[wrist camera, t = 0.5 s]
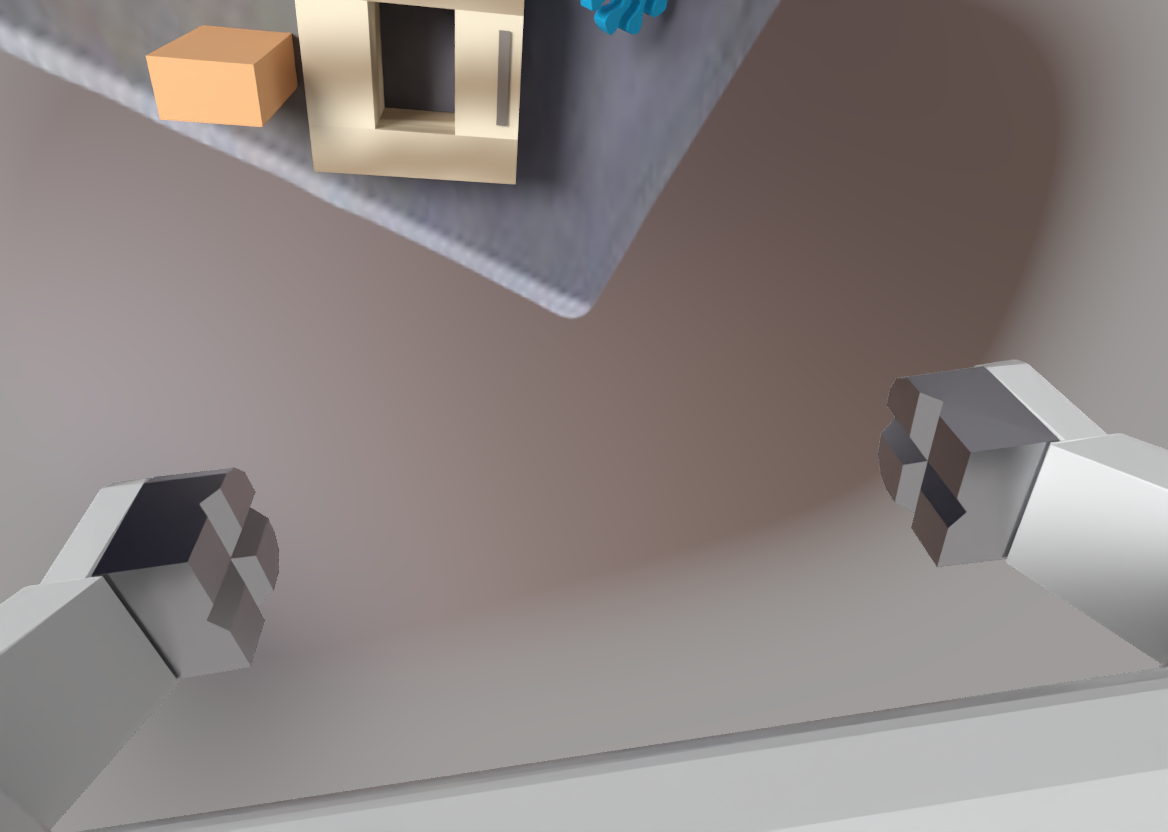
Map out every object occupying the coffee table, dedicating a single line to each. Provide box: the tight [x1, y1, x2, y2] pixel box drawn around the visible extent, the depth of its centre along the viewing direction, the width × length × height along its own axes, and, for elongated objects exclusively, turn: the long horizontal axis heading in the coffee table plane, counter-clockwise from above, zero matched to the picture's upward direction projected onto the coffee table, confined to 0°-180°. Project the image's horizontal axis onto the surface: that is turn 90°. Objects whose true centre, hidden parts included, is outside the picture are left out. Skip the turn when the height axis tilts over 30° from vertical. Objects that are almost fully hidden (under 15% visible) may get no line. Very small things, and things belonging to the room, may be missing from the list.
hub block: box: [295, 0, 524, 184], centre depth 43 cm, size 12×12×5 cm
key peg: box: [146, 25, 298, 127], centre depth 41 cm, size 3×5×9 cm, turn 84°
